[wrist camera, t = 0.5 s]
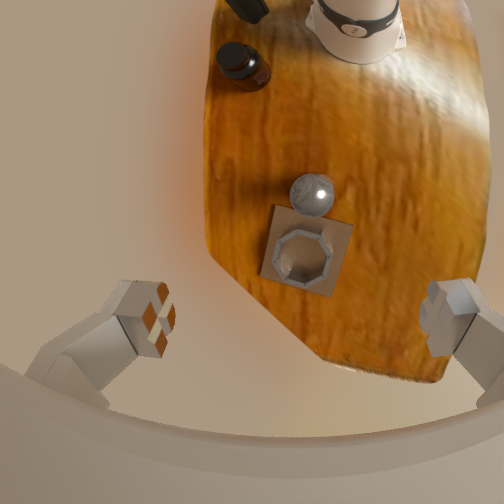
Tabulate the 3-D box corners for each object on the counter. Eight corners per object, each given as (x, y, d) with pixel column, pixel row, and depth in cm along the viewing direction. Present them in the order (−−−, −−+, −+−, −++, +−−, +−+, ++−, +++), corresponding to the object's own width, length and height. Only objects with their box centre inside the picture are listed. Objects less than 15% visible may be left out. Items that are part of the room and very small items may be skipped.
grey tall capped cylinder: (310, 169, 47) (294, 169, 31) (338, 176, 46) (338, 180, 29) (304, 196, 49) (285, 211, 32) (332, 204, 48) (327, 223, 31)
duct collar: (277, 204, 51) (270, 208, 46) (352, 224, 47) (354, 231, 43) (261, 274, 55) (253, 284, 51) (331, 294, 52) (329, 307, 48)
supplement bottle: (231, 87, 46) (202, 69, 36) (243, 57, 44) (218, 33, 33) (264, 96, 45) (243, 77, 34) (277, 64, 43) (259, 39, 32)
